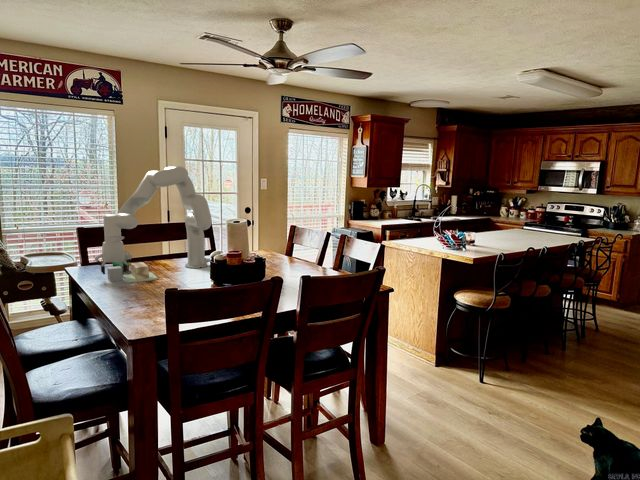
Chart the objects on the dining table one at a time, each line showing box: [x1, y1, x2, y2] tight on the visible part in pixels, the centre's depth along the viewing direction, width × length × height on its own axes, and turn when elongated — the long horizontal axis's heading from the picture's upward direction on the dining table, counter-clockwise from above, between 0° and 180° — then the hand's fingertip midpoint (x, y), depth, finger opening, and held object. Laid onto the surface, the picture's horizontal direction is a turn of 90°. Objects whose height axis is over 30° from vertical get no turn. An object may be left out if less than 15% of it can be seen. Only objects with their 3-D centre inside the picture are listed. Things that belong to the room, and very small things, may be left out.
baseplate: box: [123, 271, 158, 284], centre depth 226 cm, size 14×14×1 cm
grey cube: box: [106, 266, 124, 282], centre depth 223 cm, size 6×6×6 cm
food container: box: [111, 250, 131, 273], centre depth 240 cm, size 12×6×10 cm, turn 168°
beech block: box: [130, 261, 150, 279], centre depth 226 cm, size 6×12×6 cm, turn 34°
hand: (114, 272), depth 223 cm, fingers open, 9 cm apart
